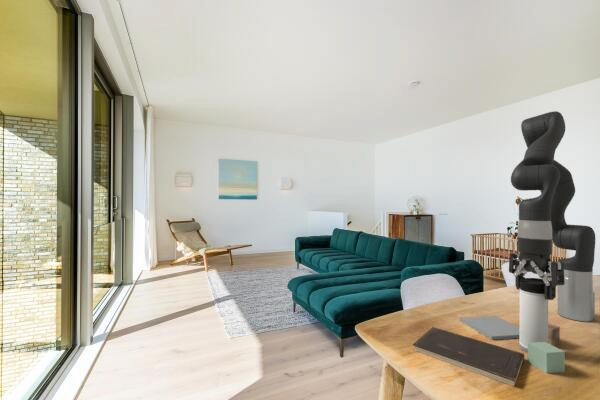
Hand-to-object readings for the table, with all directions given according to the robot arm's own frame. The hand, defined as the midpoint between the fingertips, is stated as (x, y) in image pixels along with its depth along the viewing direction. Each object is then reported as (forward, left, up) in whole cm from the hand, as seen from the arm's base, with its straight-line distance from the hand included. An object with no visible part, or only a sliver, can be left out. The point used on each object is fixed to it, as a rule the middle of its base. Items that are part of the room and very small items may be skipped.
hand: (534, 294), depth 81 cm
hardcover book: (+20, 0, -16) cm, 26 cm away
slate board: (0, -14, -16) cm, 21 cm away
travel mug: (0, 0, -16) cm, 16 cm away
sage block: (+5, +7, -16) cm, 18 cm away
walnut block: (-8, -4, -16) cm, 18 cm away
